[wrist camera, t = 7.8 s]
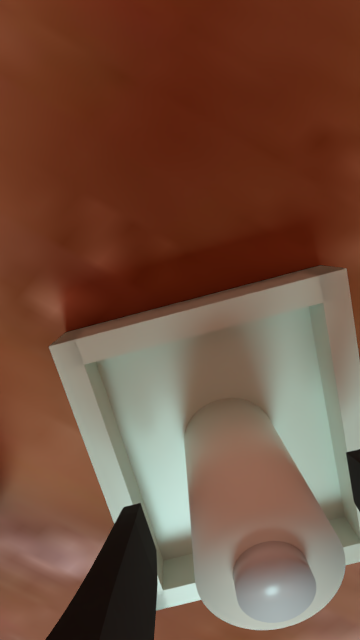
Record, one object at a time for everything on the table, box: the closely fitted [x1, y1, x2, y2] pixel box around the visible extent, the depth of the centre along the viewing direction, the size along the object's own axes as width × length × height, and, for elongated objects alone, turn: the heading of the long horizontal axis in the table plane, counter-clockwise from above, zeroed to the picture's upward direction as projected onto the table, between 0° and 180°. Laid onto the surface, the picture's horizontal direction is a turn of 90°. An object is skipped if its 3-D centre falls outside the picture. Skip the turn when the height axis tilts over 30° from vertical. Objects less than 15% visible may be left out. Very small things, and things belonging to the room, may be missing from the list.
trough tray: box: [49, 265, 360, 610], centre depth 14 cm, size 13×11×2 cm
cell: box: [184, 398, 346, 630], centre depth 11 cm, size 4×4×6 cm
